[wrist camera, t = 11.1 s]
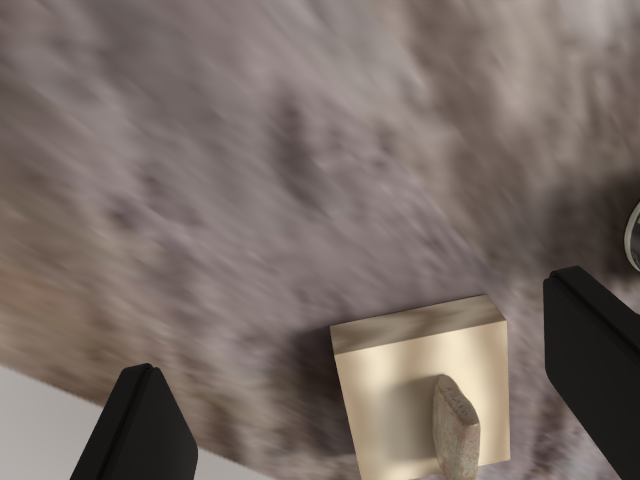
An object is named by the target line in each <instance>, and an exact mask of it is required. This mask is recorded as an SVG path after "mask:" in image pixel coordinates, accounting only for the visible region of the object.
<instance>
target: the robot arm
mask: <svg viewBox="0 0 640 480" xmlns="http://www.w3.org/2000/svg"><path fill="white" fill-rule="evenodd" d="M543 301H544V342H545V369H546V373H547V376H548V378H549V380H550V382H551V383H552V385H553V386H554V388H555V389H556V390H557V392H558V393H559V394H560V396H561V397H562V399H563V400H564V401H565V403H566V404H567V405H568V407H569V408H570V409H571V411H572V412H573V414H574V415H575V416H576V418H577V419H578V420H579V422H580V423H581V425H582V426H583V427H584V429H585V430H586V431H587V433H588V434H589V436H590V437H591V438H592V440H593V441H594V442H595V444H596V445H597V446H598V448H599V449H600V451H601V452H602V453H603V455H604V456H605V457H606V459H607V460H608V462H609V463H610V464H611V466H612V467H613V468H614V470H615V471H616V473H617V474H618V475H619V477H620V478H621V479H622V480H640V315H639V314H637V313H635V312H634V311H633V310H631V309H630V308H629V307H628V306H627V305H625V304H624V303H623V302H622V301H621V300H619V299H618V298H617V297H616V296H615V295H613V294H612V293H611V292H610V291H609V290H607V289H606V288H605V287H604V286H603V285H601V284H600V283H599V282H598V281H597V280H595V279H594V278H593V277H592V276H591V275H589V274H588V273H587V272H586V271H585V270H583V269H582V268H581V267H579V266H572V267H568V268H564V269H559V270H555V271H552V272H551V273H550V276H549V278H548V279H545V280H544V282H543ZM197 460H198V448H197V444H196V442H195V440H194V438H193V436H192V433H191V431H190V429H189V427H188V425H187V423H186V421H185V419H184V417H183V415H182V413H181V411H180V409H179V407H178V405H177V403H176V401H175V399H174V396H173V394H172V392H171V390H170V388H169V386H168V384H167V382H166V380H165V378H164V376H163V374H162V372H161V370H160V369H159V368H158V367H155V368H153V366H152V365H151V364H149V363H145V364H141V365H136V366H132V367H127V368H125V369H123V370H122V372H121V374H120V376H119V378H118V380H117V382H116V384H115V386H114V388H113V390H112V392H111V394H110V397H109V399H108V401H107V403H106V405H105V407H104V409H103V411H102V413H101V415H100V417H99V420H98V422H97V424H96V426H95V428H94V430H93V432H92V434H91V436H90V438H89V440H88V442H87V444H86V447H85V449H84V451H83V453H82V455H81V457H80V459H79V461H78V463H77V465H76V467H75V469H74V471H73V473H72V476H71V478H70V480H193V479H194V475H195V470H196V465H197Z"/></svg>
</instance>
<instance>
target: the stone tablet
mask: <svg viewBox="0 0 640 480" xmlns="http://www.w3.org/2000/svg"><path fill="white" fill-rule="evenodd" d="M432 427H433V430H432V432H433V440H434V446H435V452H436V458H437V461H438V464H439V467H440V470H441V474H442V477H443V480H477V470H478V461H479V453H480V432H481V425H480V421H479V418H478V415H477V413H476V410H475V408H474V407H473V405H472V403H471V402H470V401H469V400H468V399H467V398H466V397H465V396H464V394H463V393H462V391H461V389H460V388H459V386H458V384H457V383H456V382H455V381H454V380H453V379H452V378H451V377H450V376H448V375H442V376H439V377H438V379H437V383H436V385H435V391H434V400H433V412H432Z"/></svg>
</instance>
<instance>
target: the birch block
mask: <svg viewBox="0 0 640 480" xmlns="http://www.w3.org/2000/svg"><path fill="white" fill-rule="evenodd" d="M330 332H331V339H332V345H333V351H334V357H335V361H336V366H337V370H338V375H339V379H340V384H341V388H342V393H343V397H344V402H345V406H346V411H347V415H348V420H349V424H350V429H351V433H352V438H353V442H354V447H355V451H356V456H357V460H358V465H359V469H360V474H361V478H362V480H410V479H415V478H420V477H425V476H430V475H435V474H440V473H441V470H440V467H439V464H438V461H437V458H436V452H435V446H434V440H433V432H432V430H433V427H432V412H433V400H434V391H435V385H436V383H437V379H438V377H439V376H442V375H448V376H450V377H451V378H452V379H453V380H454V381H455V382H456V383H457V384H458V386H459V388H460V389H461V391H462V393H463V394H464V396H465V397H466V398H467V399H468V400H469V401H470V402H471V403H472V405H473V407H474V408H475V410H476V413H477V415H478V418H479V421H480V425H481V432H480V453H479V461H478V466H480V465H485V464H490V463H496V462H501V461H506V460H510V435H509V394H508V353H507V320H506V319H505V317H504V316H503V315H502V314H501V312H500V311H499V310H498V308H497V307H496V306H495V304H494V303H493V302H492V301H491V299H490V298H489V297H488V295H487V294H486V295H481V296H476V297H471V298H466V299H461V300H456V301H451V302H446V303H441V304H436V305H431V306H426V307H421V308H416V309H411V310H407V311H402V312H397V313H392V314H387V315H382V316H377V317H372V318H367V319H362V320H357V321H352V322H347V323H342V324H337V325H332V326H330Z"/></svg>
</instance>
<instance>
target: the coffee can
mask: <svg viewBox="0 0 640 480" xmlns="http://www.w3.org/2000/svg"><path fill="white" fill-rule="evenodd" d="M624 245H625V251H626V255H627V258H628V260H629V261H630V263H631V264H632V265H633V267H634V268H636V269H637V270H638V271H639V272H640V202H639V203H638V205H637V206H636V208H635V209H634V211H633V213H632V214H631V216H630V218H629V222H628V224H627V227H626V231H625V237H624Z"/></svg>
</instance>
